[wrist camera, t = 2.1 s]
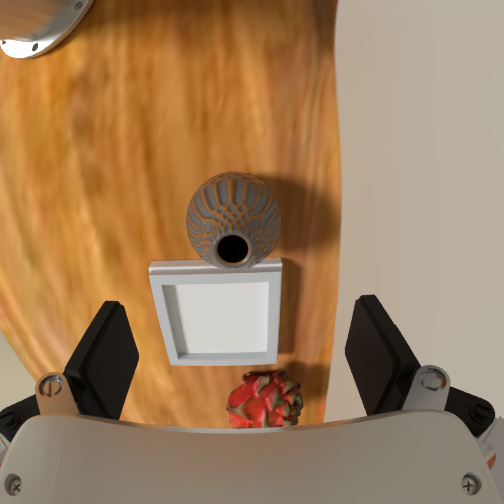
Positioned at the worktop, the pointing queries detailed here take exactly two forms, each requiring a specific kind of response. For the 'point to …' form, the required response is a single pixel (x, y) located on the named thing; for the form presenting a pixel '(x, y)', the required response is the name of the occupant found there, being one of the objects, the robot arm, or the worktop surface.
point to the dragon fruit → (265, 402)
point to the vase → (233, 221)
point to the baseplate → (218, 312)
